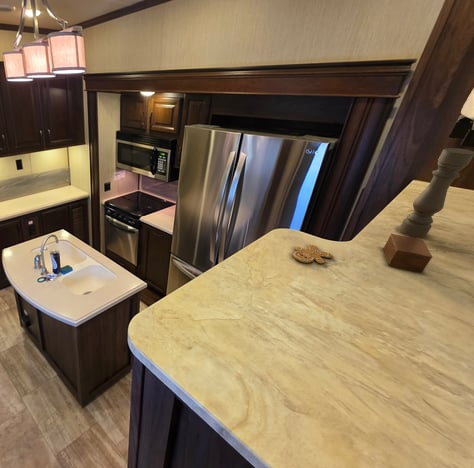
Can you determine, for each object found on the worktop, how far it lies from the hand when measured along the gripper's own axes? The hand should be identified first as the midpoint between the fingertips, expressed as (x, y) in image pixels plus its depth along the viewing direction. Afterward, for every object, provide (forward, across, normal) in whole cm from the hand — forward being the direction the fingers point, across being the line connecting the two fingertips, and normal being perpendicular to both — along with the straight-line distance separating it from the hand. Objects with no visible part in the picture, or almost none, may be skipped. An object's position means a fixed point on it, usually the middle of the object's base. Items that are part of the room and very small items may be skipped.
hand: (462, 142), depth 74 cm
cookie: (+28, -28, +25) cm, 47 cm away
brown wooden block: (+27, -19, +5) cm, 34 cm away
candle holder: (+28, 0, -1) cm, 28 cm away
